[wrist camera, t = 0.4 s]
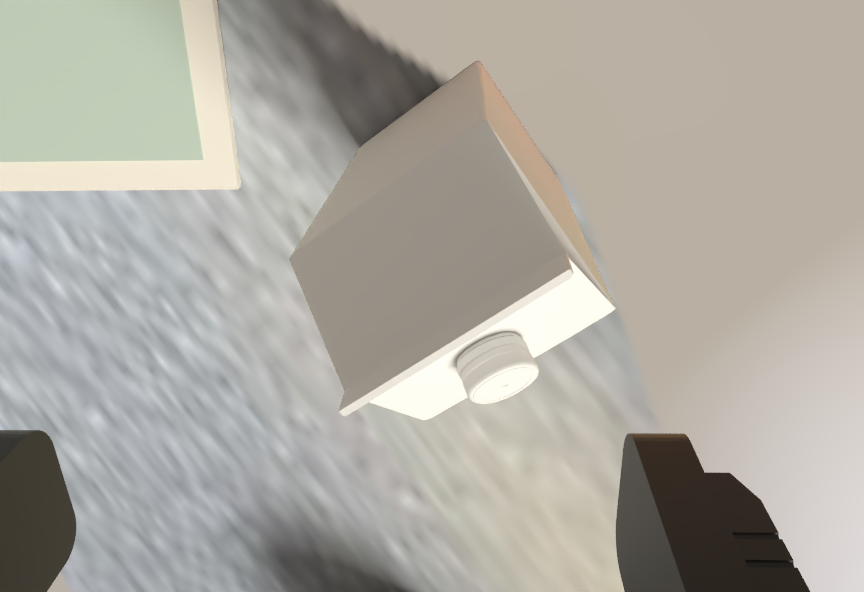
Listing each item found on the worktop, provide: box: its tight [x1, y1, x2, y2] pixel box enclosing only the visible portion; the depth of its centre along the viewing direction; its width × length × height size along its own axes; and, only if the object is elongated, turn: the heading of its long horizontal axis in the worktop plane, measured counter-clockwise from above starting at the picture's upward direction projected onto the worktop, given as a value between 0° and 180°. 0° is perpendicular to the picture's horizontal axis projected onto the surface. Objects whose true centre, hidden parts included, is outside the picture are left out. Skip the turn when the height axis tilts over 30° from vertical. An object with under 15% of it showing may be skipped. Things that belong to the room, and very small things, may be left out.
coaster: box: [0, 0, 241, 191], centre depth 33 cm, size 14×14×1 cm
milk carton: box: [290, 61, 616, 420], centre depth 27 cm, size 7×7×19 cm
